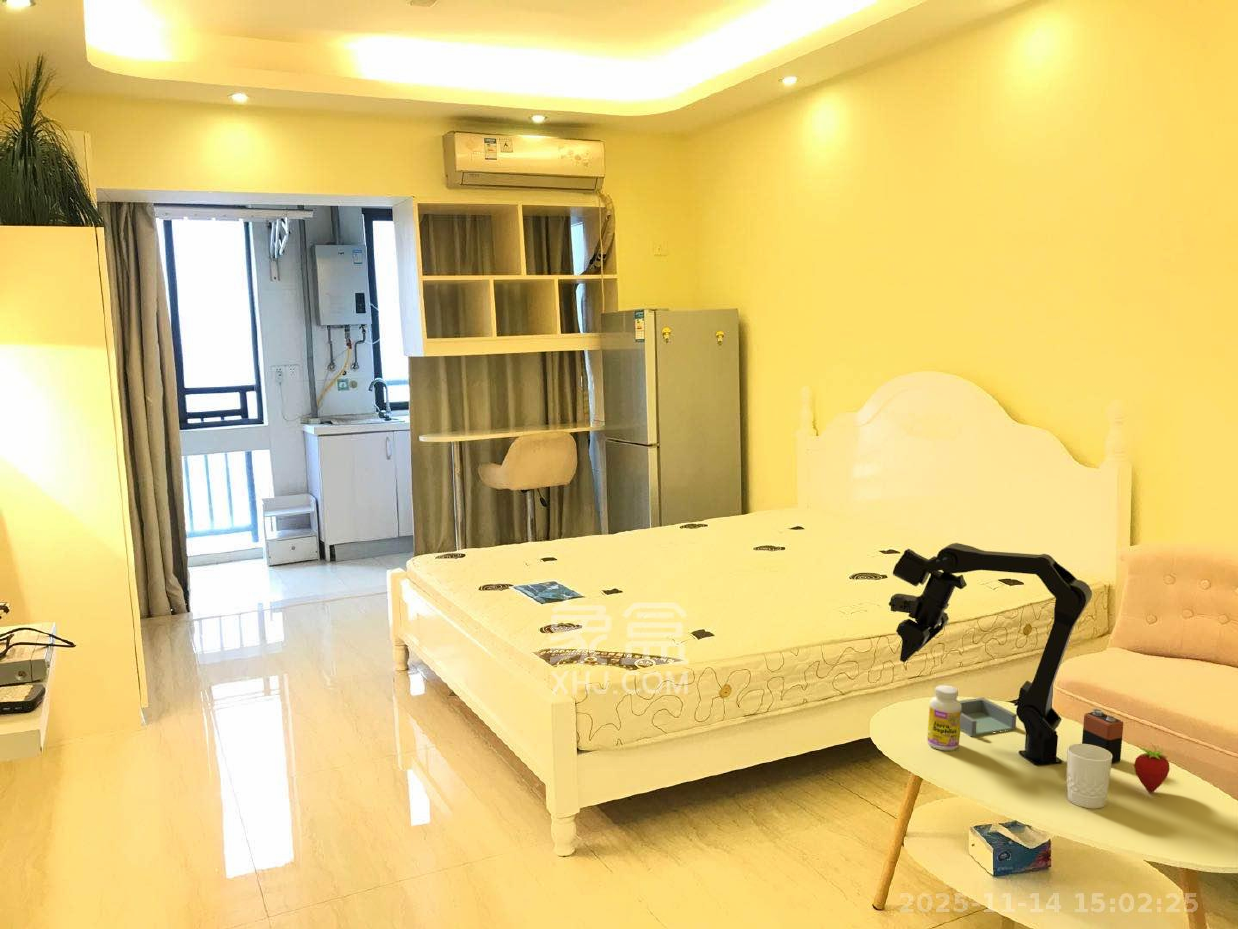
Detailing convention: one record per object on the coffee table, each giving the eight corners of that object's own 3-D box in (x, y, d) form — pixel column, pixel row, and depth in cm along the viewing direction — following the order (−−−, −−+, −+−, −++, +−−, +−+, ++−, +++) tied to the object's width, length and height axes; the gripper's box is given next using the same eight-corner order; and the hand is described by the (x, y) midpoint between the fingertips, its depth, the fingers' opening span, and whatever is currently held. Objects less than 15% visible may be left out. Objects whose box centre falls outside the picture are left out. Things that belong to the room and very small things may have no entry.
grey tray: (1015, 729, 233) (1016, 714, 232) (971, 737, 228) (972, 721, 228) (981, 712, 243) (982, 697, 242) (938, 718, 239) (939, 703, 238)
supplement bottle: (926, 749, 221) (930, 692, 219) (927, 737, 227) (930, 682, 226) (959, 753, 219) (963, 696, 217) (958, 741, 226) (962, 685, 224)
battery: (1094, 750, 222) (1098, 706, 221) (1121, 762, 216) (1125, 717, 214) (1079, 753, 220) (1083, 709, 219) (1106, 766, 214) (1110, 720, 213)
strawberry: (1125, 791, 202) (1129, 743, 201) (1143, 781, 207) (1148, 734, 205) (1155, 803, 198) (1160, 754, 196) (1173, 792, 202) (1178, 744, 201)
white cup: (1117, 805, 197) (1121, 755, 195) (1090, 814, 193) (1095, 763, 191) (1080, 788, 204) (1084, 740, 202) (1054, 797, 200) (1058, 748, 198)
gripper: (916, 571, 237) (890, 628, 242) (888, 588, 222) (862, 648, 227) (960, 594, 232) (934, 652, 237) (935, 612, 217) (907, 674, 222)
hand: (908, 656), depth 231 cm, fingers open, 9 cm apart
